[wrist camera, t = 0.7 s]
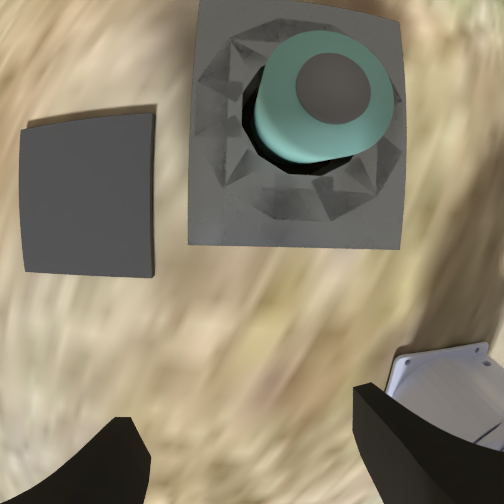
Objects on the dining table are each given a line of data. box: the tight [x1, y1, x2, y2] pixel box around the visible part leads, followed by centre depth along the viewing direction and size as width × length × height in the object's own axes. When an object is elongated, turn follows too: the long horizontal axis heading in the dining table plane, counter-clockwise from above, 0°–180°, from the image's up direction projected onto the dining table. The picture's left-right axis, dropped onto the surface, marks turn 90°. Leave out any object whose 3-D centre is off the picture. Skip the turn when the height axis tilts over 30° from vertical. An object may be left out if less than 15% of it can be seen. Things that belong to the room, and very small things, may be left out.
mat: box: [19, 113, 155, 278], centre depth 16 cm, size 9×9×1 cm
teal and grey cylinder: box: [251, 31, 394, 166], centre depth 13 cm, size 4×4×8 cm
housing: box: [188, 0, 407, 250], centre depth 15 cm, size 10×12×4 cm
